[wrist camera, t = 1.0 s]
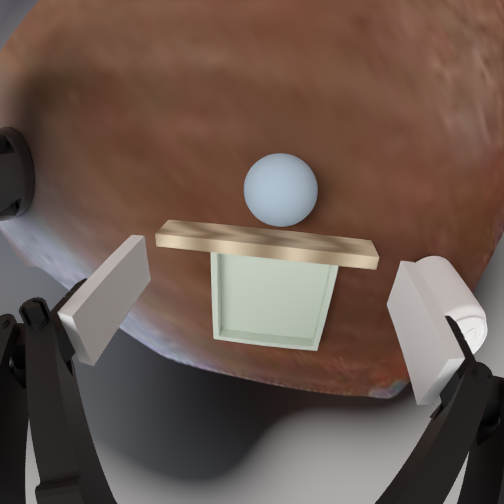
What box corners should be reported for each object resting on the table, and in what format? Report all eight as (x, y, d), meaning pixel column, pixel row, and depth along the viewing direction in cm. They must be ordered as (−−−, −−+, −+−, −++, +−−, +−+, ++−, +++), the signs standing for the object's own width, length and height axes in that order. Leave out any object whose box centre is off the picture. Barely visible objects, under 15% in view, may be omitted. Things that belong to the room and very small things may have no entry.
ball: (247, 208, 33) (236, 234, 27) (250, 145, 30) (239, 157, 24) (311, 214, 32) (314, 243, 26) (318, 152, 29) (325, 165, 23)
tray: (216, 329, 42) (213, 338, 41) (214, 239, 35) (210, 247, 34) (316, 340, 41) (317, 350, 39) (337, 252, 34) (339, 260, 32)
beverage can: (389, 273, 35) (417, 341, 24) (442, 242, 32) (487, 299, 21) (409, 314, 37) (434, 379, 27) (457, 286, 34) (493, 345, 24)
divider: (169, 231, 36) (156, 246, 32) (168, 219, 35) (155, 233, 32) (368, 251, 34) (375, 269, 30) (371, 240, 33) (379, 257, 29)
